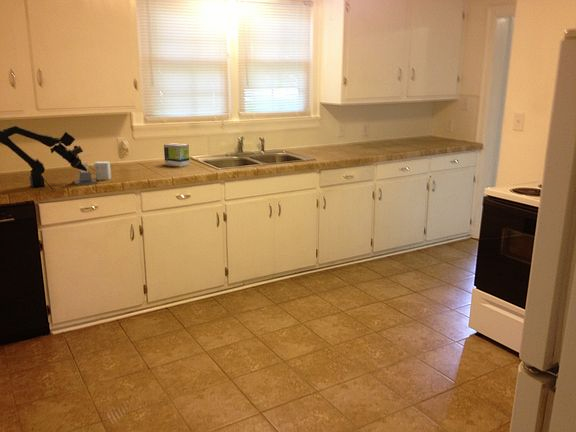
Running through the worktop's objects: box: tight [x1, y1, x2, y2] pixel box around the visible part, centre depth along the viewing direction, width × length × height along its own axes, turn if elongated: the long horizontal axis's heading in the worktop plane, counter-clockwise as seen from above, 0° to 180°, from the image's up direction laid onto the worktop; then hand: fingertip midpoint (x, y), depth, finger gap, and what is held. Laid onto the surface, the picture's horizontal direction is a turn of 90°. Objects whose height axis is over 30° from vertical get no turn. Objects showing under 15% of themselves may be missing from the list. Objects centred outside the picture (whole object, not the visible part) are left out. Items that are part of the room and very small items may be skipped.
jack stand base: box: [73, 170, 98, 186], centre depth 321 cm, size 12×12×6 cm
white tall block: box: [79, 162, 89, 173], centre depth 320 cm, size 4×4×10 cm
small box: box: [94, 161, 112, 181], centre depth 331 cm, size 8×6×10 cm
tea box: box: [163, 142, 190, 168], centre depth 376 cm, size 15×10×15 cm, turn 58°
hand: (85, 169), depth 320 cm, fingers open, 9 cm apart
